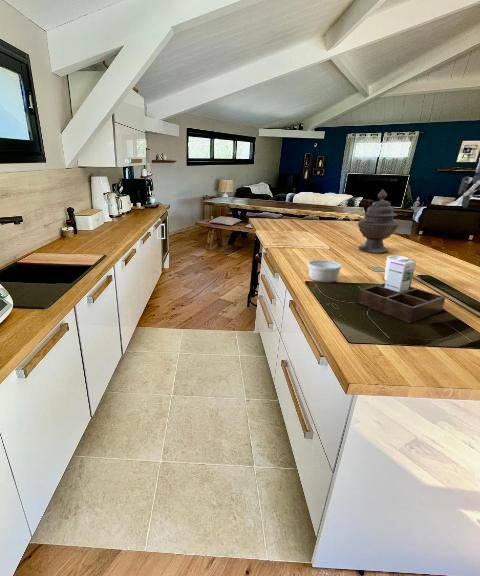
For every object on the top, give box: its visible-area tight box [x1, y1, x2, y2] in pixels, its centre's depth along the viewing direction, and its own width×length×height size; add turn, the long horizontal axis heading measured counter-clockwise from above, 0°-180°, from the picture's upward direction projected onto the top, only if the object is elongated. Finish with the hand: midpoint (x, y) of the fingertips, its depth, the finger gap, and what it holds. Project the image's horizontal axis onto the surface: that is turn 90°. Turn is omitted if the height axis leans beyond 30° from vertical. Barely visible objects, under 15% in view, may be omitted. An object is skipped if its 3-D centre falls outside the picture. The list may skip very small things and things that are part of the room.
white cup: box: [383, 254, 410, 281], centre depth 134 cm, size 8×8×10 cm
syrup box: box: [384, 258, 417, 293], centre depth 113 cm, size 6×6×14 cm
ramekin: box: [307, 259, 342, 283], centre depth 138 cm, size 13×13×7 cm
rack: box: [357, 282, 447, 324], centre depth 109 cm, size 18×18×5 cm
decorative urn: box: [357, 188, 400, 254], centre depth 178 cm, size 20×20×35 cm
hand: (479, 208), depth 111 cm, fingers open, 8 cm apart
